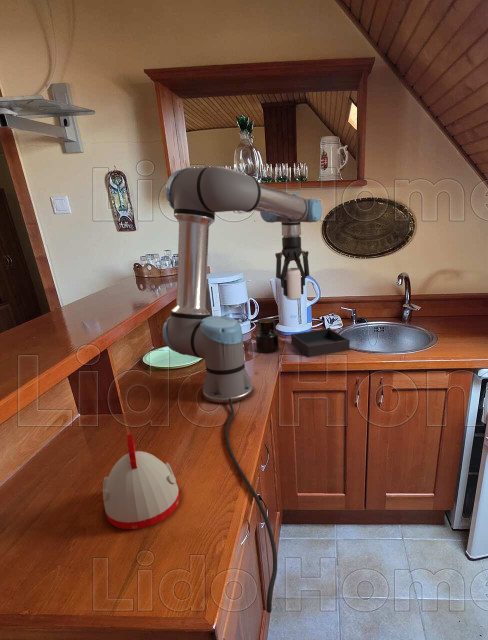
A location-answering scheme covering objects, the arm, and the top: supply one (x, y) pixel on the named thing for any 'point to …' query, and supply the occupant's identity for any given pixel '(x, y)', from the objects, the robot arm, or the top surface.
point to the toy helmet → (139, 490)
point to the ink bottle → (267, 336)
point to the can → (293, 283)
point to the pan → (320, 342)
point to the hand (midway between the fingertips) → (293, 294)
